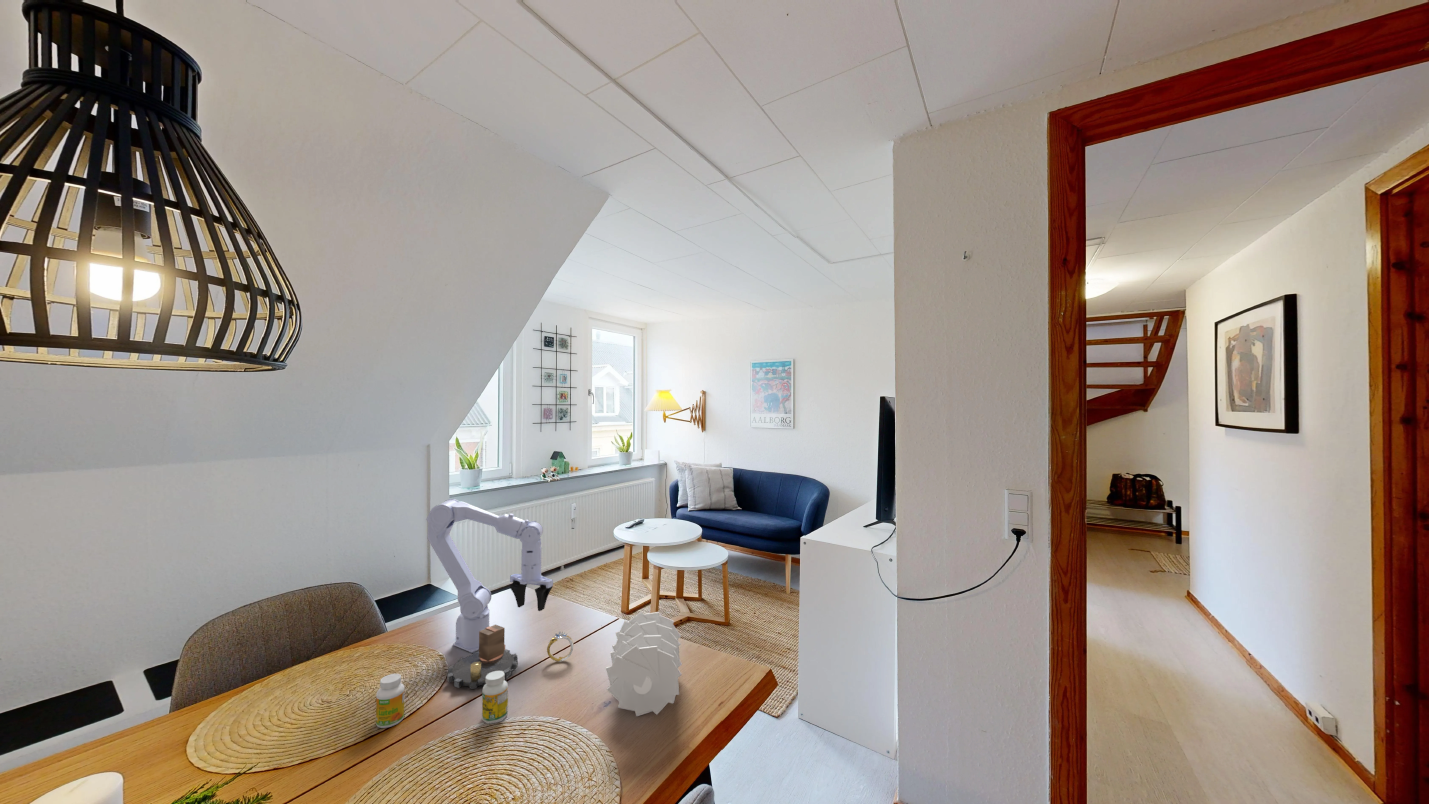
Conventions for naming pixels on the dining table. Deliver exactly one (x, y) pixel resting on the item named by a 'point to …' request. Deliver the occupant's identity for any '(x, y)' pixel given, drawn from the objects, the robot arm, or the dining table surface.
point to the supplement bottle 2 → (495, 697)
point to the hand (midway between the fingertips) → (531, 607)
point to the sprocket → (480, 669)
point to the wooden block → (491, 642)
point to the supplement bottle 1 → (390, 701)
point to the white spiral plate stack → (645, 664)
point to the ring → (552, 640)
